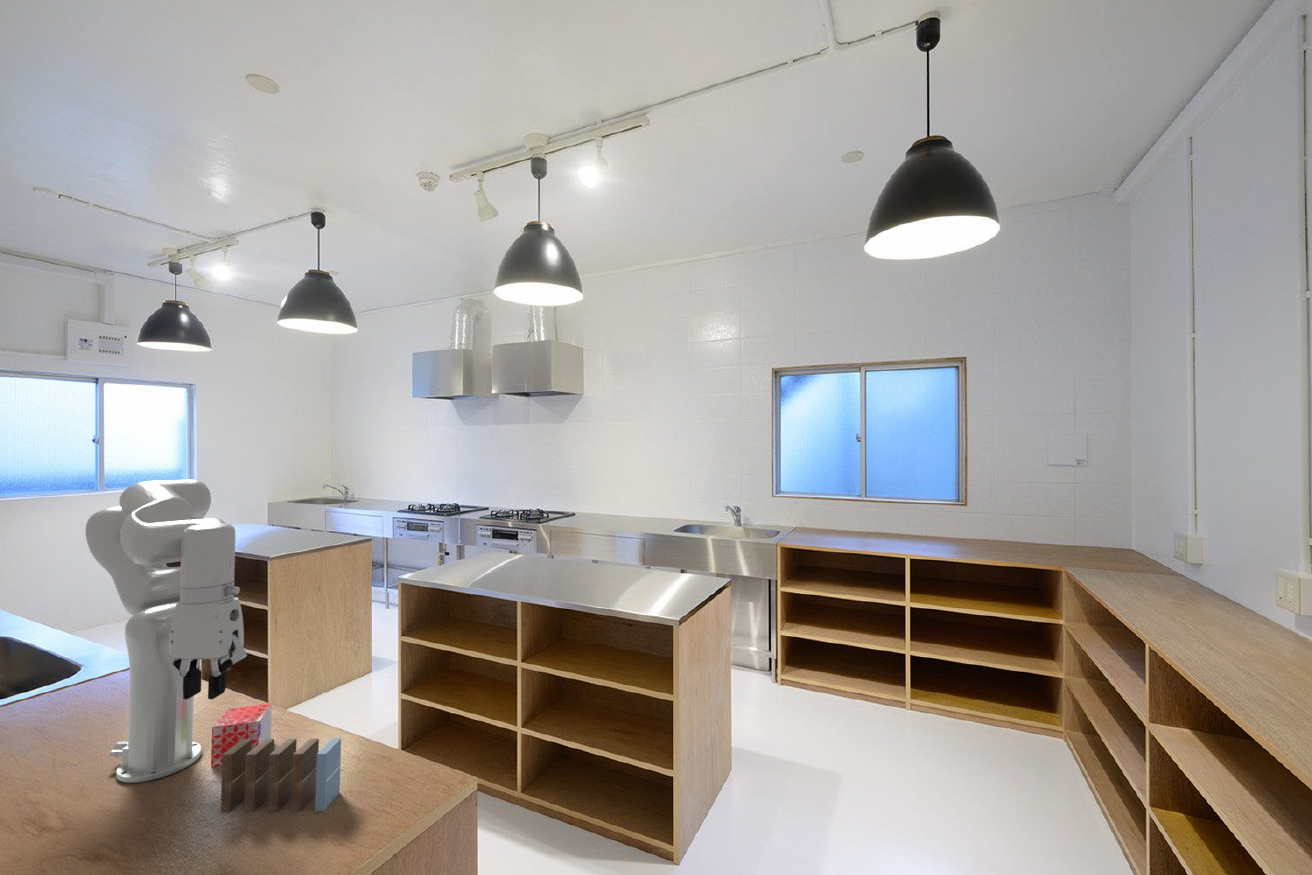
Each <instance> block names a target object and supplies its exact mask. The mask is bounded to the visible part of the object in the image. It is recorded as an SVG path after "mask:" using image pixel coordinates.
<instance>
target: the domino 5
mask: <svg viewBox="0 0 1312 875" xmlns="http://www.w3.org/2000/svg"><path fill="white" fill-rule="evenodd" d="M341 750H342V738H341V737H339V738H337V737H336V738H335V737H333V738H331V739H330V740H329V741H328V742H327V743H326V744H325V745H324V746H323V747H322V748H321V750H319V752H318V753H317V765H316V795H315V805H314V806H315V807H314V810H315V812H325V811H326V810H327V809H328V808H329V806H330V805H331V804H332V802H333V801H334V800H335V799H336V797H338V795H339V794H340V793H341V792H340V789H341V757H342V756H341V754H342V752H341Z"/></svg>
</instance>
